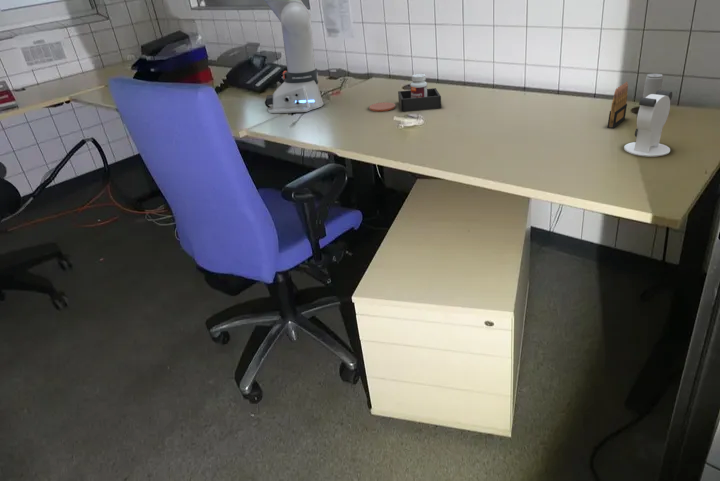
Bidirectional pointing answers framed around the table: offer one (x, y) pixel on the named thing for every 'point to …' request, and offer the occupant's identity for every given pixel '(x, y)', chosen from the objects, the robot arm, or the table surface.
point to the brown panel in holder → (618, 106)
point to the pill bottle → (418, 86)
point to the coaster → (382, 107)
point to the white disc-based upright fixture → (651, 125)
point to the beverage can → (652, 84)
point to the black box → (419, 100)
